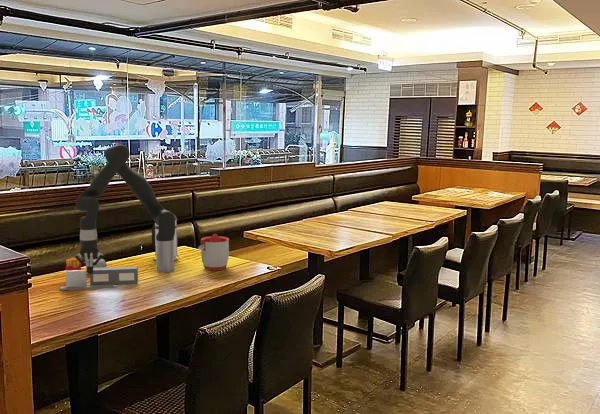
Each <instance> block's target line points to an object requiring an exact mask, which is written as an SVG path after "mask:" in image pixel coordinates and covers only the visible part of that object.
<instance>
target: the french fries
mask: <svg viewBox="0 0 600 414" xmlns="http://www.w3.org/2000/svg"><path fill="white" fill-rule="evenodd" d="M65 263H66V265H65V271H72V270H82V264H81V263H80V262H79V261H78V260H77V259H76V258H75V257H70V258H66V260H65Z"/></svg>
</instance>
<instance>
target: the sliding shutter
mask: <svg viewBox="0 0 600 414" xmlns="http://www.w3.org/2000/svg"><path fill="white" fill-rule="evenodd" d="M87 283H88V282H87V269H81V270H72V271H66V270H65V287H80V286H88V285H87Z"/></svg>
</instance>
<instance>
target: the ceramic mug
mask: <svg viewBox="0 0 600 414" xmlns="http://www.w3.org/2000/svg"><path fill="white" fill-rule="evenodd" d="M97 259H98V258H94V261H93V262H95V261H96V260H97ZM89 264H90V259H89ZM104 267H107V262H106V260H105V259H103V258H101V259H100V260H99V262H98V263H97V264H96V265H94V266H93V268H104ZM85 270H87V268H86V269H85Z"/></svg>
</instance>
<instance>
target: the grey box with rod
mask: <svg viewBox="0 0 600 414" xmlns="http://www.w3.org/2000/svg"><path fill="white" fill-rule="evenodd" d="M138 284H139V266H138V265H137V266H135V265H133V266H112V267H110V266H108V267H104V268H93V273H92V274H89V285H87V286H80V287H66V286H60V287H59V292H60V291H61V292H62V291H78V290H79V291H80V290H84V291H85V290H102V289H114V286H132V285H134V286H136V285H138Z"/></svg>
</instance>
